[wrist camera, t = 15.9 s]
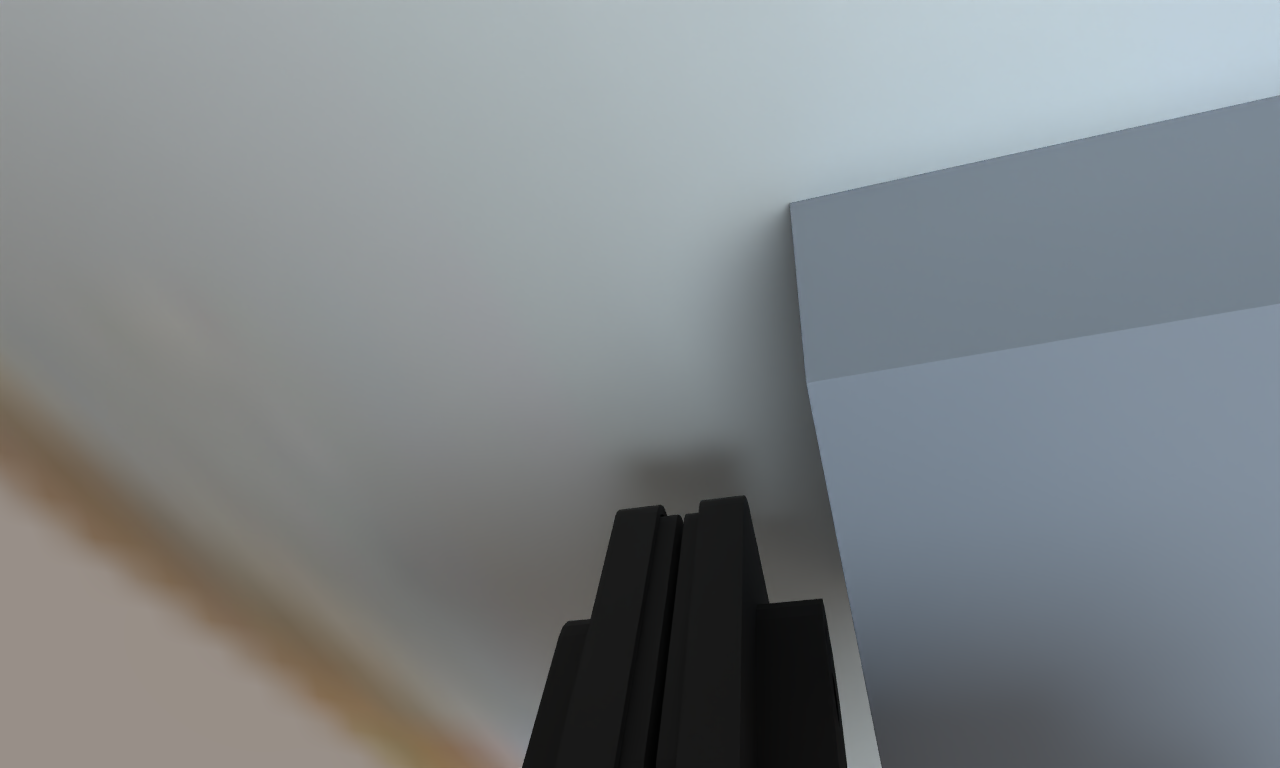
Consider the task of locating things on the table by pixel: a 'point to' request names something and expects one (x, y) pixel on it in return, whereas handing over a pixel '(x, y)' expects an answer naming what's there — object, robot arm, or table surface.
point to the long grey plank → (1059, 446)
